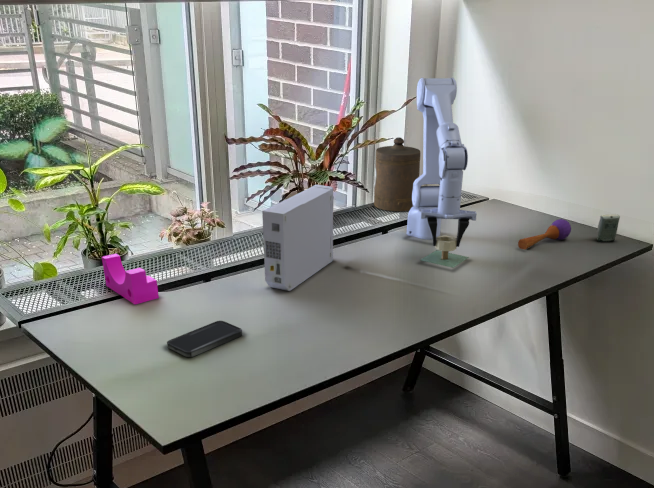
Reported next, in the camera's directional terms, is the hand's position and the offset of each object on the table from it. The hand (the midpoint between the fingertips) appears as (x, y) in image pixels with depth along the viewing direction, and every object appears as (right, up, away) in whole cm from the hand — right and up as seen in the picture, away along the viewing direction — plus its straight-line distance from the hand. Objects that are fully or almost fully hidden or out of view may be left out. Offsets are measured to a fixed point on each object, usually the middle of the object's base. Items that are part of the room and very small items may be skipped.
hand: (445, 245), depth 197 cm
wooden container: (-10, +23, +50) cm, 55 cm away
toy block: (-79, -15, -19) cm, 82 cm away
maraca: (+31, +4, +17) cm, 36 cm away
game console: (-38, -9, -8) cm, 40 cm away
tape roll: (0, -1, 0) cm, 1 cm away
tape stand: (0, -4, +2) cm, 5 cm away
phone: (-56, -28, -42) cm, 76 cm away
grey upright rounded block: (+50, +5, +20) cm, 54 cm away
